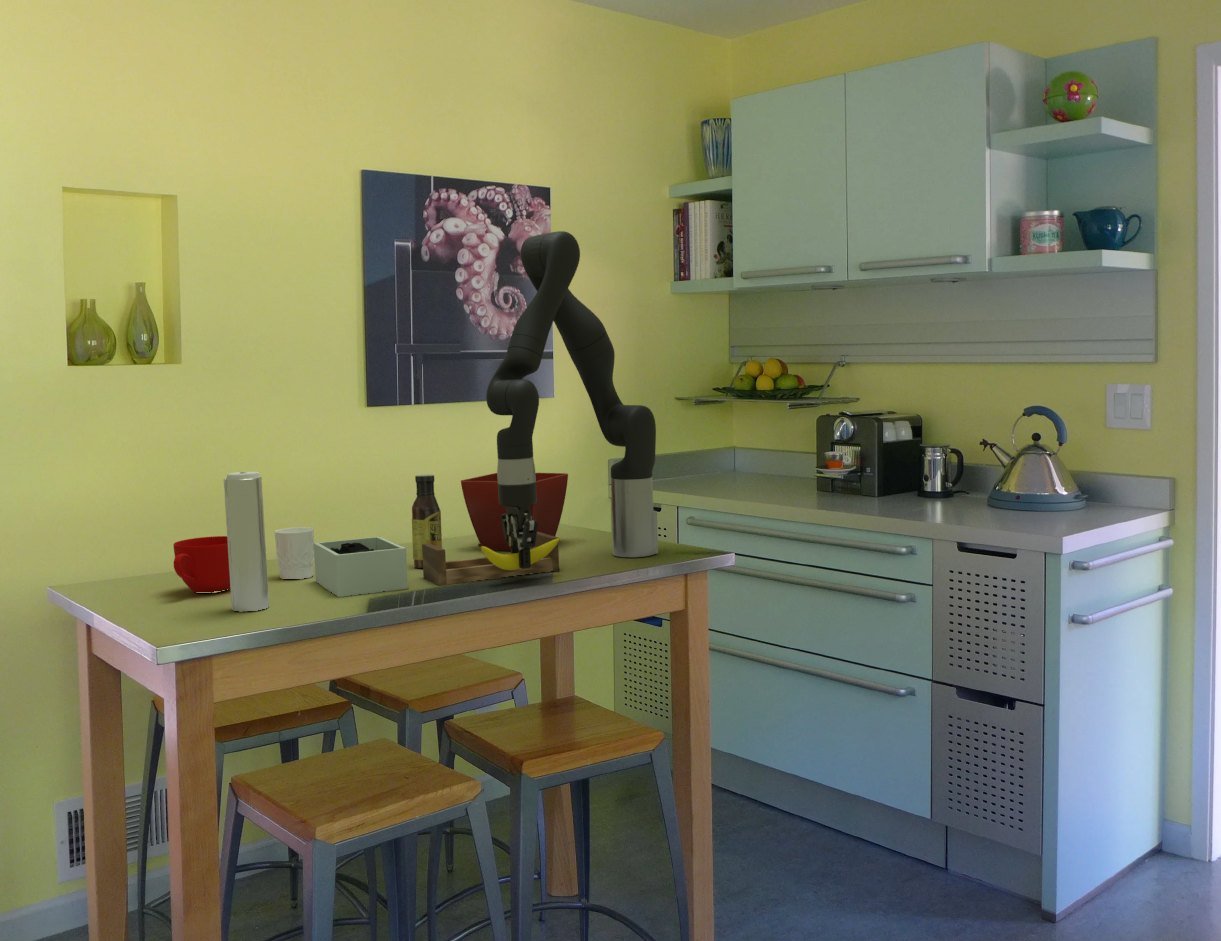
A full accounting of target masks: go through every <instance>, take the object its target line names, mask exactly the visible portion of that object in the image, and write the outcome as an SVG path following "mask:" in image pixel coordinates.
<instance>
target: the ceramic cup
mask: <svg viewBox="0 0 1221 941" xmlns="http://www.w3.org/2000/svg"><path fill="white" fill-rule="evenodd" d="M173 553H174V559H173V568H174V572H175V574H176V575H177V576H178V577H179V578H181V580H182V581H183V583H184V584H185V585H186V586H187V587H188V588H189V589H190V590H191V591H192V592H194V591H195V592H214V591H222V590H227V589H229V590H230V589H231V587H230V572H229V556H228V540H227V535H222V536H221V535H219V536H217V535H215V536H204V537H201V536H200V537H195V538H187V539H182V540H179V541H176V542H174V543H173ZM227 591H228V590H227Z"/></svg>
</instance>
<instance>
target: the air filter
mask: <svg viewBox="0 0 1221 941" xmlns="http://www.w3.org/2000/svg"><path fill="white" fill-rule="evenodd" d="M262 480H263V478H262V476H261V474H260V472H259V471H237V472H229V473H226V478H224V479H223V488H224V489H223V490H224V492H223V493H224V504H225V505H224V506H225V519H226V520H225V522H226V536H227V540H228V556H229V572H230V602H231V611H232V610H233V611H232V612H234V611H256V612H259V611H258V610H261V611H263V610H262V609H265V610H267V609H269V608H270V597H269V582H268V581H269V580H268V579H269V578H268V565H267V547H266V532H265V513H264V499H263V498H264V496H263V482H262ZM268 607H269V608H268ZM266 608H267V609H266Z"/></svg>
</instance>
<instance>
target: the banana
mask: <svg viewBox="0 0 1221 941" xmlns="http://www.w3.org/2000/svg"><path fill="white" fill-rule="evenodd" d="M560 540H561V537H558V539H554V540H552V541H549V542H547V543H545V544H543V545H541V546H538V547H536V548H533V549H530V558H531V564H533V563H535V562H537V561H539V560H541V559H542V558H544V557H545V556H547V555H548V554H549V553H550V552H551V551H552V550H553V549H554V547H555V546H556V545H557V543H558V544H559V541H560ZM477 546H478V547H480V550H481V552H482V553H483V555H484V556H485V557H487V558H488V559H489V560H490V561H491V562H492V563H493V564H494V565H495V566H497V567H499V568H501V569H504V570H517V569H521V568H520V567H519V553H514V554H511V553H509V554H508V553H507V554H506V553H505V554H504V553H503V554H502V553H499V552H496V551H495V550H491V549H489V548H487V547H484V546H482V545H481V544H480V543H478V544H477Z"/></svg>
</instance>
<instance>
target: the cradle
mask: <svg viewBox="0 0 1221 941" xmlns="http://www.w3.org/2000/svg"><path fill="white" fill-rule="evenodd" d="M558 538H559V537H557V536H551V535H548V534H544V533H541V532H537V535H536V543H535V547H533V548H536V547H538V546H541V545H543V544H545V543H547V542H549V541H552V540H554V539H558ZM559 548H560V547H559V542H558V543H557V545H556V546H555V547H554V549H553V550H552V551H551V552H550V553H549V554H548V555H547V556H545V557H544V558H542V559H541V560H539V561H537V562H535V563H533V564H531V567H530V568H526V569H517V570H504V569H501V568H499V567H497V566H495V565H494V564H493V563H492V562H491V561H490V560H489V559H488V558H487V557H486V556H485V557H475V558H465V559H458V560H449V561H446V560H447V559H446V549H445V548H443V547H442V548H440V547H437V546H435V545H432V544H430V543H426V544H422V555H423V568H422V571H423V572H422V573H423V576H422V577H423V579H425V578H426V579H425V580H427V579H428V580H427V581H429V582H432V583H433V582H434V583H433V584H436V585H437V584H438V586H447V585H454V584H456V583H457V584H462V583H463V582H465V583H471V581H473V582H478V581H477V580H481V581H486V580H485V579H489V580H494V579H493V578H497V579H502V578H501V577H506V578H509V577H508V576H514V575H522V576H524V575H523V574H530V573H538V574H541V573H540V572H546V573H552V572H551V571H555V572H559V571H560V557H559V556H560V554H559V552H560V550H559ZM530 575H531V574H530ZM514 577H515V576H514ZM457 584H456V585H457ZM463 584H464V583H463Z"/></svg>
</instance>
